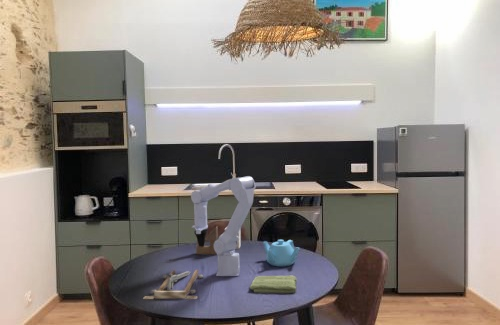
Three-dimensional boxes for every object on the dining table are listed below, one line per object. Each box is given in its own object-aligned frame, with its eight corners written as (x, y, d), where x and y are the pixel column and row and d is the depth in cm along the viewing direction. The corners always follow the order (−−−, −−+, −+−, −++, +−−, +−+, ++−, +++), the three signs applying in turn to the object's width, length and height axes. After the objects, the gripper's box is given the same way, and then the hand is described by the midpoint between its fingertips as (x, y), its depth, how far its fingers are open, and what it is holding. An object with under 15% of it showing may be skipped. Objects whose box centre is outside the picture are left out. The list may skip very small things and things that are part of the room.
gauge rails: (208, 273, 165) (208, 267, 165) (196, 299, 138) (196, 292, 138) (162, 273, 166) (162, 268, 166) (142, 299, 139) (142, 292, 139)
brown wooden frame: (217, 254, 192) (216, 219, 191) (196, 254, 193) (195, 219, 192) (218, 252, 195) (217, 218, 194) (198, 252, 196) (197, 218, 195)
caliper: (169, 291, 146) (169, 275, 146) (167, 291, 147) (166, 275, 146) (190, 273, 166) (190, 259, 166) (188, 273, 166) (188, 259, 166)
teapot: (300, 267, 170) (300, 243, 170) (267, 269, 169) (267, 245, 168) (293, 257, 185) (293, 235, 185) (263, 258, 184) (262, 236, 184)
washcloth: (253, 280, 156) (253, 273, 156) (296, 282, 154) (296, 274, 153) (249, 293, 143) (249, 285, 143) (296, 295, 141) (296, 286, 140)
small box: (224, 248, 202) (223, 229, 202) (226, 245, 208) (226, 226, 207) (239, 249, 201) (238, 229, 200) (241, 246, 206) (240, 227, 206)
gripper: (195, 213, 179) (195, 241, 180) (188, 219, 165) (189, 250, 165) (209, 213, 179) (210, 241, 180) (204, 219, 164) (205, 250, 165)
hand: (201, 245), depth 172 cm, fingers closed
